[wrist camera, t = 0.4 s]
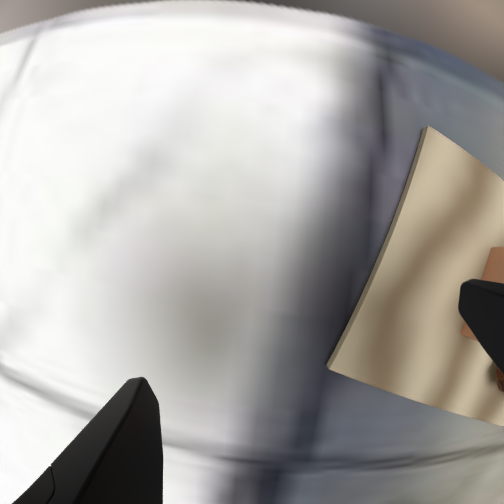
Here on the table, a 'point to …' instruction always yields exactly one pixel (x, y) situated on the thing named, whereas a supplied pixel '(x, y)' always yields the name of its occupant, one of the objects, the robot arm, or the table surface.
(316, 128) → the table surface
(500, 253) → the tile
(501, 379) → the meat cleaver
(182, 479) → the table surface
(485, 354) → the board
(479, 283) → the robot arm
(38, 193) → the table surface
